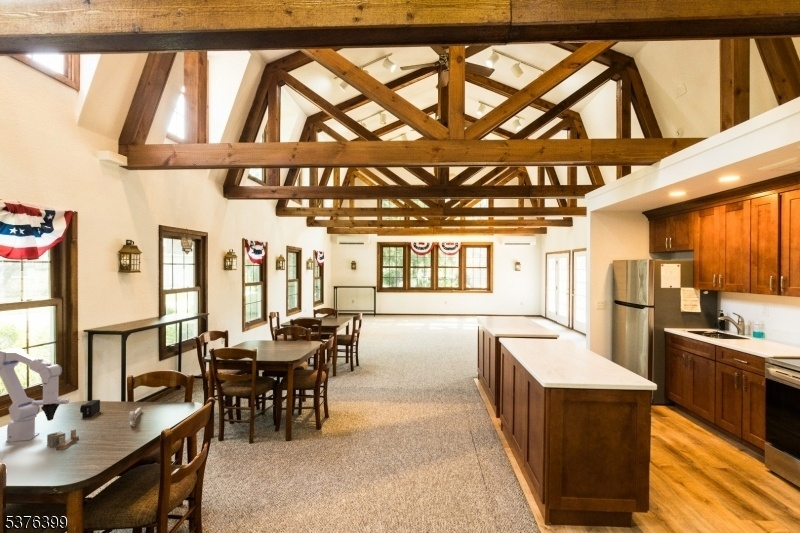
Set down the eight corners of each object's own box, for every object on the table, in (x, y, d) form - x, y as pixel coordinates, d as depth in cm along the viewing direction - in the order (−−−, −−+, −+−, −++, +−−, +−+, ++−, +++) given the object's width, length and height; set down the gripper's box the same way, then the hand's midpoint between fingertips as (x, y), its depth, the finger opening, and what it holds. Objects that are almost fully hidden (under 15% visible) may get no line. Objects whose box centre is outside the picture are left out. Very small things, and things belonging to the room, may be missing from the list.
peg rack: (56, 449, 187) (56, 438, 187) (71, 439, 198) (71, 428, 198) (64, 449, 187) (64, 438, 187) (78, 438, 199) (78, 428, 199)
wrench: (141, 417, 237) (132, 428, 210) (137, 417, 237) (128, 429, 210) (141, 402, 238) (132, 412, 211) (138, 403, 238) (128, 412, 211)
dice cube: (47, 445, 191) (47, 434, 191) (60, 441, 196) (60, 431, 196) (52, 447, 189) (52, 436, 189) (65, 444, 193) (65, 433, 193)
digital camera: (89, 412, 237) (89, 400, 237) (100, 411, 239) (100, 399, 239) (79, 418, 227) (79, 405, 227) (91, 417, 228) (91, 404, 228)
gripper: (27, 394, 193) (26, 423, 193) (62, 392, 196) (62, 421, 196) (37, 390, 200) (37, 418, 200) (71, 388, 203) (71, 416, 203)
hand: (50, 419), depth 198 cm, fingers closed
